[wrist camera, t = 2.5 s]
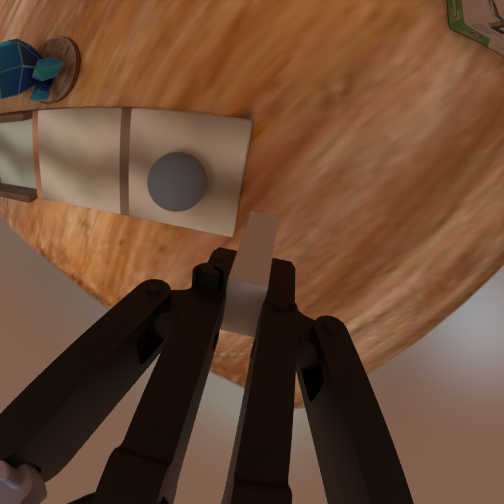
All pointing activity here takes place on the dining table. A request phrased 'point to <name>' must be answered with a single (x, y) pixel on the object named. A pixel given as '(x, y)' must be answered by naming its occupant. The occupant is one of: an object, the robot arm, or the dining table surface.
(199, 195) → the ball
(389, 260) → the dining table surface
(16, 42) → the gemstone
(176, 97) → the dining table surface
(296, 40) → the dining table surface
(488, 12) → the ink box
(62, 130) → the lane
